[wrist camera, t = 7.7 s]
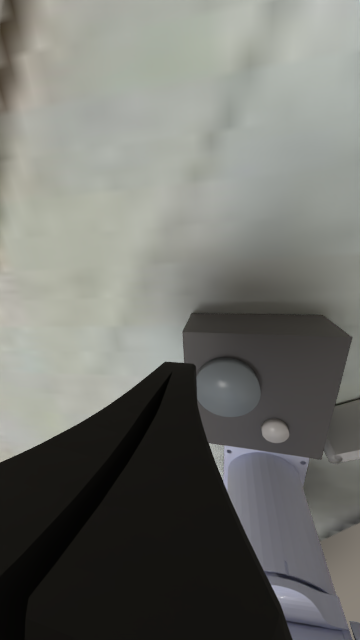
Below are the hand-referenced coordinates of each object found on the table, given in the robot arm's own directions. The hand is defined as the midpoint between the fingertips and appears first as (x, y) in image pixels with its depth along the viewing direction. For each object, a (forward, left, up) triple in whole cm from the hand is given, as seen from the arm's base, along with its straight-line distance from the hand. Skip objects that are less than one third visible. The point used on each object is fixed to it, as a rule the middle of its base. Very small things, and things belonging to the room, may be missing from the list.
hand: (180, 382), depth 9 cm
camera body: (-5, -4, -9) cm, 11 cm away
